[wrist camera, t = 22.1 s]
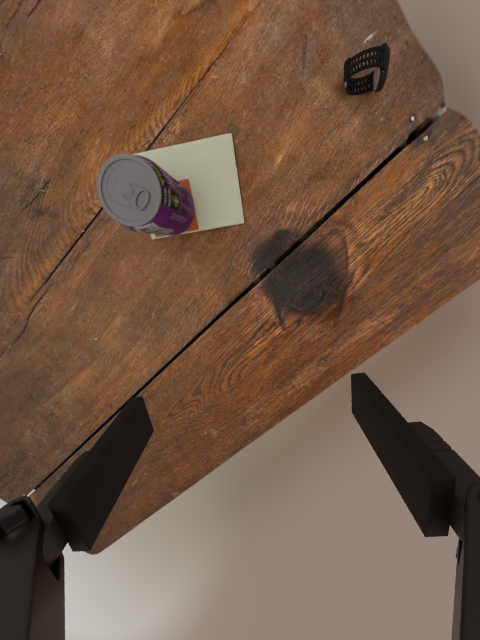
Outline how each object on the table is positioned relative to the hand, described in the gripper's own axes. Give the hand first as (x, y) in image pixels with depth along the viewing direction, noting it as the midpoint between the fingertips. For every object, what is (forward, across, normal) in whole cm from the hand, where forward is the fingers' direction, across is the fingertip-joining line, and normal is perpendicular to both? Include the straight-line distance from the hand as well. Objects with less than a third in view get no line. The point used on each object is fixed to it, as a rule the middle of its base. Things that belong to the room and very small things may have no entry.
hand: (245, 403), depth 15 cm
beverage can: (+24, -9, +16) cm, 30 cm away
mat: (+25, -6, +18) cm, 31 cm away
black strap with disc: (+25, +17, +26) cm, 40 cm away
